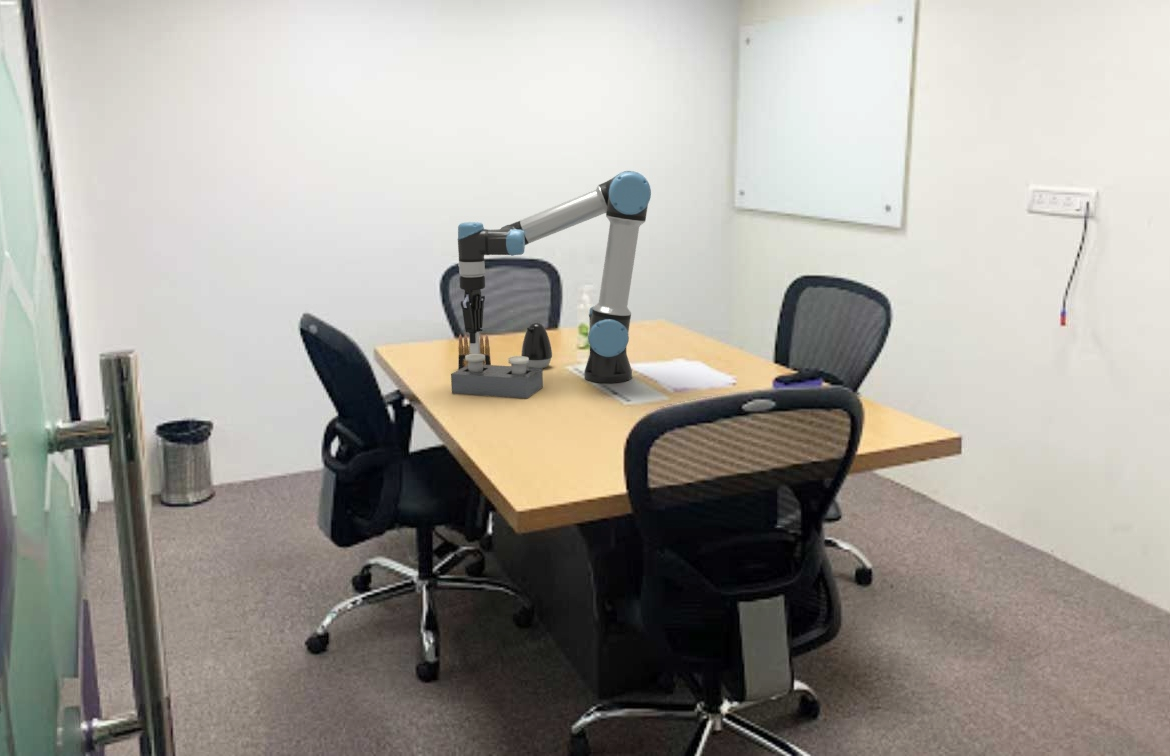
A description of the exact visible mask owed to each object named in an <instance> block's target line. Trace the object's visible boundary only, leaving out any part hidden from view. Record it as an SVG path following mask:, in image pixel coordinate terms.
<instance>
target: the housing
mask: <svg viewBox="0 0 1170 756" xmlns="http://www.w3.org/2000/svg"><path fill="white" fill-rule="evenodd" d="M543 369H544V368H531V367H527V366H526V375H514V374H512V370H511V365H497V364H496V365H495V364H491V365H483V372H469V371H468V365H467V366H465V367H463V368H461V369H459V370H458V369H457V370H456V371H453V372H452V373H450V384H451V385H450V386H451V394H456V395H471V396H483V397H486V396H487V397H498V398H513V399H528V398H530V397H531V396H532V395H534V394H536V393H537V392H539V391H540V390H541V389H542V388H544V379H543V378H544V374H543V372H544V371H543Z"/></svg>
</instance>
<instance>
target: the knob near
mask: <svg viewBox="0 0 1170 756" xmlns="http://www.w3.org/2000/svg"><path fill="white" fill-rule="evenodd" d="M528 362H529V358H528V357H525V356H520V355H518V356H517V355H516V356H510V357H508V364H510V366H511V370H512V374H514V375H526V367H527V366H526V363H528Z"/></svg>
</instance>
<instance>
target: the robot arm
mask: <svg viewBox="0 0 1170 756" xmlns="http://www.w3.org/2000/svg"><path fill="white" fill-rule="evenodd" d="M651 195H652V189H651V185H650V183H649V181H648V180H647V178H646V177H644V175H642V174H641V173H639V172H636V171H633V170H626V171H621V172H619V173H618V174H616V175H615V176H613V177H612V178H611V179H608V180H606V181H604V182H602V183H600V184H598V185H597V187H596V188H595V189H593V190H591V191H588V192H586V193H584V194H582V195H579V196H577V197H574V198H572V199H569V200H567V201H564V202H561V203H559V204H557V205H555V206H552V207H550V208H547V209H545V210H542V211H540V212H538V213H535V214H533V215H530V216H527V217H525V218H523V219H520V220H519V221H516V222H513V223H510V224H506V225H504V226H502V227H501V228H499V229H487V228H485V227H484V224H483V223H482V222H478V221H477V222H476V221H475V222H474V221H472V222H471V221H469V222H461V223H459V224H458V226H457V228H458V229H457V248H458V250H457V251H458V252H457V253H458V265H457V266H458V271H459V288H460V289H461V290H464V294H463V295H464V296H463V298H464V300H462V301H460V306H461V309H462V316H463V317H462V318H463V324H464V329H465V330H464V331H465V333H468V347H470V354H480V332H483V324H484V323H483V321H484V306H485V305H484V304H485V299H486V297H485V295H482V291H481V290H483V289H485V288H486V277H485V274H486V268H485V267H486V266H485V256H521V255H523V254H524V253H525V248H526V245H529V244H531V243H534V242H536V241H538V240H541V239H544V238H547V237H549V236H551V235H555V234H556V233H559V232H561V231H563V230H566V229H570V228H571V227H574V226H576V225H579V224H582V223H584V222H586V221H589V220H591V219H594V218H597V217H599V216H601V215H604V214H605V217H606V218H607V220H608V221H609V229H608V235H607V236H608V237H607V242H606V247H605V248H606V250H605V256H604V264H603V272H602V278H601V285H600V291H599V298H598V303H597V304H595V305H594V306H591V307H590V308H589V312H588V313H589V314H588V318H589V328H588V329H589V330H588V331H589V332H588V334H587V337H588V338H587V339H588V344H589V355H588V358H587V362H586V365H585V368H584V379H585V380H587V381H589V382H593V383H599V384H601V383H604V384H606V383H607V384H613V383H623V382H626V381H629V380H631V379H632V378H633V369H632V366H631V364H630V361H629V358H628V354H627V347H628V344H629V340H630V336H629V330H630V324H631V318H632V317H631V316H632V312H631V311H630V309H629V308H628V304H629V297H630V292H631V291H630V290H631V284H632V277H633V270H634V264H635V259H636V258H635V257H636V251H637V245H638V237H639V231H640V227H641V225H644V224H645V223H646V218H647V213H648V209H649V208H648V207H649V203H650V201H651V197H652V196H651Z"/></svg>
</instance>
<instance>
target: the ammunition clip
mask: <svg viewBox="0 0 1170 756" xmlns="http://www.w3.org/2000/svg"><path fill="white" fill-rule="evenodd" d="M484 337H485V338H484ZM484 339H485V341H484ZM479 340H480V353H479V354H484V355H485V360H484V361H483V365H492V364H491V363H492V362H491V361H492V360H491V353H490V351H491V349H490V348H491V347H490V340H489V335H488V334H487V333H486V334H485V336H483V334H480V335H479ZM469 354H470V347H469V339H468V336H467V334H464V338H463V336H462V334H461V333H460V334H459V337H458V365H457V366H458V367H457V368H458V369H457V370H459V369H461V368H463V367H465V366H467V365H468V361H466V360H465V356H466V355H469Z"/></svg>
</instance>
